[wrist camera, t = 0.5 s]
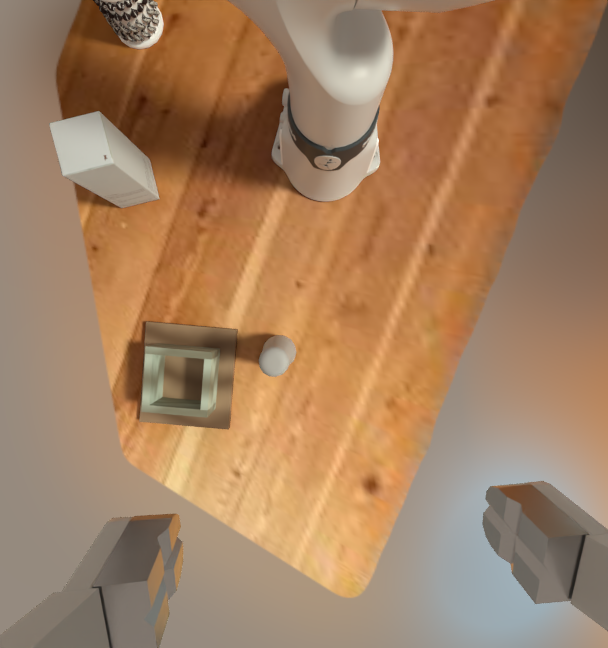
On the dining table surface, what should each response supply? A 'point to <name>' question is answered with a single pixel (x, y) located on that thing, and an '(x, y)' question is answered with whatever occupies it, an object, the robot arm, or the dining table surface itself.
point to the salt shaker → (277, 355)
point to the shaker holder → (188, 375)
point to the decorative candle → (133, 21)
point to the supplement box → (103, 160)
